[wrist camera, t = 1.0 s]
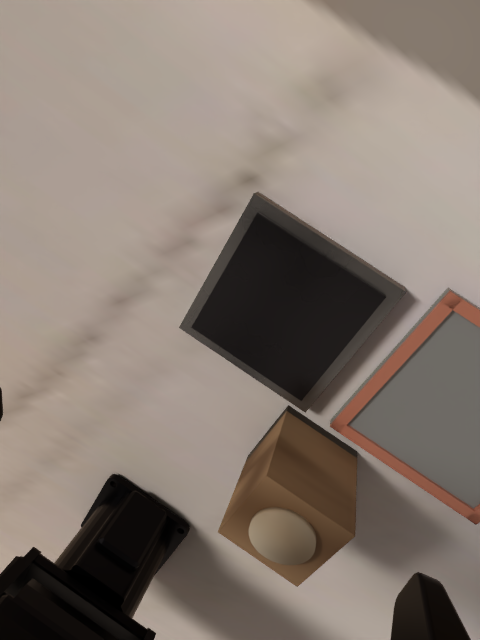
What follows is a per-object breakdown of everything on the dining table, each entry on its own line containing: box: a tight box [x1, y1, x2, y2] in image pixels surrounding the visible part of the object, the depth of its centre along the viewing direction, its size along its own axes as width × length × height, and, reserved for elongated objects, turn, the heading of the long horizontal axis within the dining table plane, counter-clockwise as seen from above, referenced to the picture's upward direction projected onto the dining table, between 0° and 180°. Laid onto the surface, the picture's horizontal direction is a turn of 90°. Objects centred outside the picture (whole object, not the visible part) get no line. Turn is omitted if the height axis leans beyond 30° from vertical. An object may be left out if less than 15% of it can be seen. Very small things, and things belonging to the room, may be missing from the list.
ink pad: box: [179, 192, 406, 412], centre depth 20 cm, size 8×8×1 cm
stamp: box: [218, 405, 357, 587], centre depth 21 cm, size 4×4×6 cm
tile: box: [330, 288, 480, 524], centre depth 20 cm, size 9×9×1 cm
